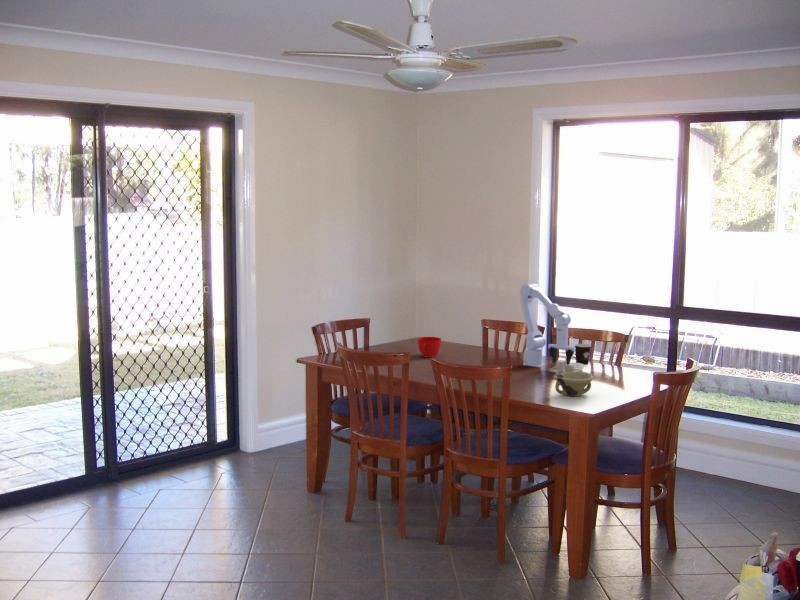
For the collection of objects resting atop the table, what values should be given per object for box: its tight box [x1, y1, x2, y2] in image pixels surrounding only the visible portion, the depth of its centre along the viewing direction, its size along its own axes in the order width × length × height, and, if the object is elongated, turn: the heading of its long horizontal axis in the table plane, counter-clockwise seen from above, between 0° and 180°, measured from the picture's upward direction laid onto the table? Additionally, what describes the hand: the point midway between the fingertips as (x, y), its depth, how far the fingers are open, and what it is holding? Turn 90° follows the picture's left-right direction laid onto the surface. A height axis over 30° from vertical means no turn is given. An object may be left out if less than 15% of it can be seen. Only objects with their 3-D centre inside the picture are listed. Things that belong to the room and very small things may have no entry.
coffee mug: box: [571, 343, 592, 366], centre depth 435 cm, size 12×9×10 cm
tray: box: [547, 365, 583, 374], centre depth 414 cm, size 14×11×2 cm
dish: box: [566, 362, 585, 370], centre depth 423 cm, size 9×9×2 cm
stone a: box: [555, 359, 567, 371], centre depth 417 cm, size 4×4×5 cm
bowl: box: [553, 371, 594, 397], centre depth 369 cm, size 18×18×10 cm
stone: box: [565, 365, 574, 372], centre depth 410 cm, size 4×3×4 cm
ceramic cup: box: [417, 336, 442, 358], centre depth 449 cm, size 13×17×10 cm
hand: (561, 363), depth 417 cm, fingers open, 7 cm apart
